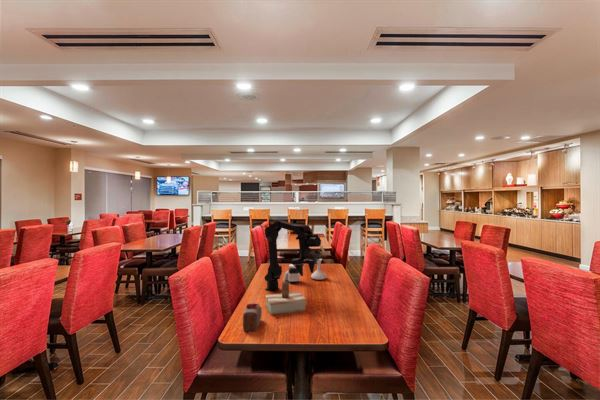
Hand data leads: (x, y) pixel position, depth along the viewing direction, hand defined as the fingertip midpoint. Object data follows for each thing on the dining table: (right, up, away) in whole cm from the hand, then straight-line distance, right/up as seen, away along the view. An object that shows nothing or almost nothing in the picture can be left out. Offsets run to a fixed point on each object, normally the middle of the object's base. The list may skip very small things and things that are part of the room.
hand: (307, 274), depth 176 cm
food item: (-26, -15, -34) cm, 46 cm away
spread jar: (-10, -14, +36) cm, 40 cm away
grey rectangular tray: (-12, -14, -14) cm, 23 cm away
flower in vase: (+10, -13, +43) cm, 46 cm away
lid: (-12, -9, -15) cm, 21 cm away
